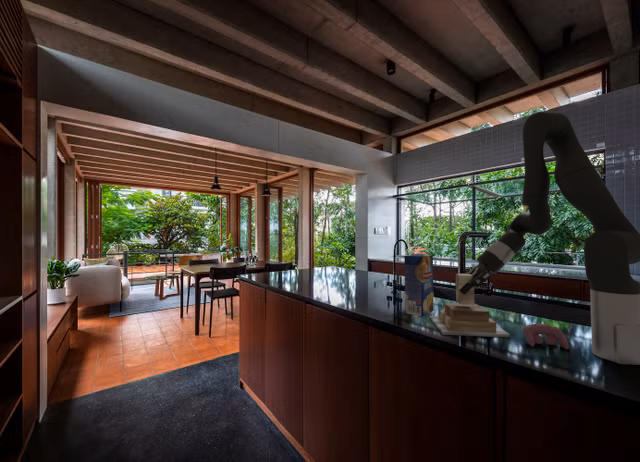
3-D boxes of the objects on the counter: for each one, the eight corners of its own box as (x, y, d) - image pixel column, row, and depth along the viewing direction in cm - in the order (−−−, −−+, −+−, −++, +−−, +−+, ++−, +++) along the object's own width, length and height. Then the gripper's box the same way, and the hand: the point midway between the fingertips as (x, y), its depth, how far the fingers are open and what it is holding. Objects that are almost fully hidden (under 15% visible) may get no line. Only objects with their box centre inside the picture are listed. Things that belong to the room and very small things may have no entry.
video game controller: (563, 351, 82) (556, 326, 85) (572, 349, 78) (564, 323, 81) (524, 347, 85) (519, 323, 88) (530, 346, 81) (525, 320, 84)
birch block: (474, 304, 97) (473, 275, 97) (460, 304, 98) (459, 275, 98) (469, 301, 101) (469, 273, 102) (456, 301, 102) (455, 273, 102)
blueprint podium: (509, 337, 89) (509, 315, 89) (442, 334, 92) (442, 312, 92) (485, 320, 107) (485, 302, 107) (429, 318, 110) (429, 300, 110)
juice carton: (422, 316, 113) (421, 256, 113) (404, 313, 118) (404, 255, 119) (433, 310, 122) (433, 254, 122) (417, 307, 127) (416, 254, 127)
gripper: (478, 248, 106) (445, 280, 107) (496, 250, 92) (457, 287, 93) (494, 262, 105) (460, 294, 106) (514, 267, 91) (475, 303, 92)
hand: (459, 291), depth 100 cm, fingers closed on birch block, 4 cm apart
